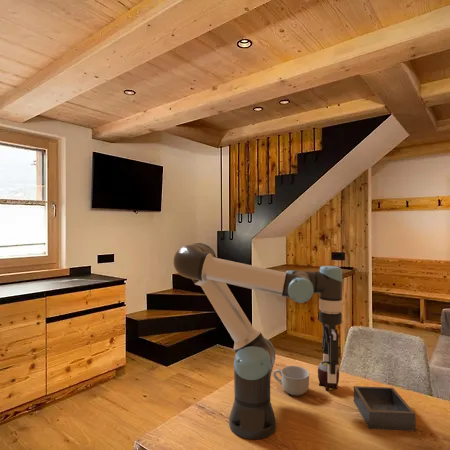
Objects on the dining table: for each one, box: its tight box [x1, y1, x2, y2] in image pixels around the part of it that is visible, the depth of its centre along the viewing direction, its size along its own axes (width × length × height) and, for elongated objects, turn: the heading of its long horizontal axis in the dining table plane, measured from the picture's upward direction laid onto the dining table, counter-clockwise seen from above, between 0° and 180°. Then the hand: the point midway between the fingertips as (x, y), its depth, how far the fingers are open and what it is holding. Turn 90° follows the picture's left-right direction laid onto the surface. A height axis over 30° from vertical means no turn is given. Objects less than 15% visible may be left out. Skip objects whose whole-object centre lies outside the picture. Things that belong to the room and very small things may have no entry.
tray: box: [353, 385, 416, 432], centre depth 115 cm, size 14×17×6 cm
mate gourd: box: [317, 348, 342, 392], centre depth 116 cm, size 8×8×15 cm
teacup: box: [272, 365, 310, 397], centre depth 132 cm, size 14×11×8 cm
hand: (329, 377), depth 116 cm, fingers closed on mate gourd, 7 cm apart
